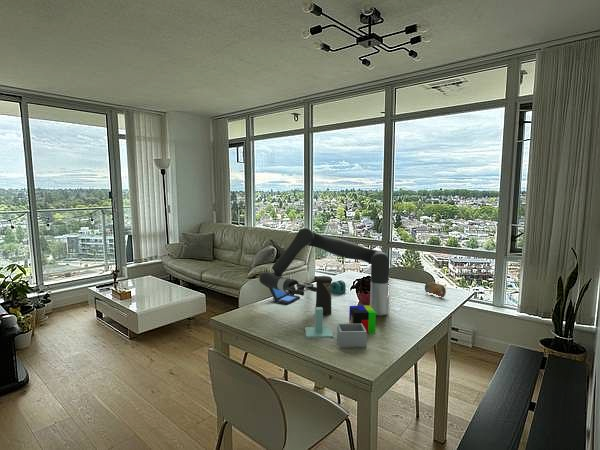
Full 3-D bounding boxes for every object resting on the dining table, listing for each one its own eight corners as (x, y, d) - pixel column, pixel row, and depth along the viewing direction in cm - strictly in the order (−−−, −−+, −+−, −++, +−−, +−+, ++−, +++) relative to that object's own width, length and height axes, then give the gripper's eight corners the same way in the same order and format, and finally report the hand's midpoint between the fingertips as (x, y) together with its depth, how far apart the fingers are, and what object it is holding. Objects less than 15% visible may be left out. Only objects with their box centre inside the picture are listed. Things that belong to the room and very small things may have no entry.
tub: (361, 338, 152) (361, 323, 151) (366, 347, 143) (366, 331, 143) (337, 338, 152) (337, 323, 151) (340, 348, 143) (340, 332, 142)
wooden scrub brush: (424, 293, 222) (424, 280, 221) (427, 292, 223) (428, 280, 222) (442, 299, 208) (443, 286, 208) (446, 299, 210) (447, 285, 209)
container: (330, 316, 179) (331, 279, 177) (313, 315, 181) (314, 278, 179) (332, 311, 187) (333, 275, 185) (316, 309, 189) (316, 274, 187)
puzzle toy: (349, 325, 167) (349, 305, 166) (369, 325, 168) (369, 305, 167) (354, 334, 157) (354, 313, 156) (375, 333, 158) (375, 312, 157)
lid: (330, 329, 163) (330, 304, 162) (333, 337, 153) (333, 312, 152) (305, 329, 163) (305, 304, 161) (306, 338, 153) (306, 312, 152)
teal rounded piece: (345, 293, 221) (345, 281, 220) (338, 295, 217) (338, 283, 216) (325, 287, 235) (325, 276, 234) (318, 289, 230) (318, 277, 229)
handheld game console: (287, 305, 196) (287, 290, 195) (268, 301, 203) (268, 286, 202) (300, 298, 210) (301, 283, 209) (282, 295, 216) (282, 280, 216)
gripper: (277, 281, 171) (299, 286, 159) (298, 275, 180) (320, 281, 169) (277, 295, 171) (299, 302, 160) (298, 289, 181) (320, 295, 169)
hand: (310, 291), depth 164 cm, fingers open, 8 cm apart
